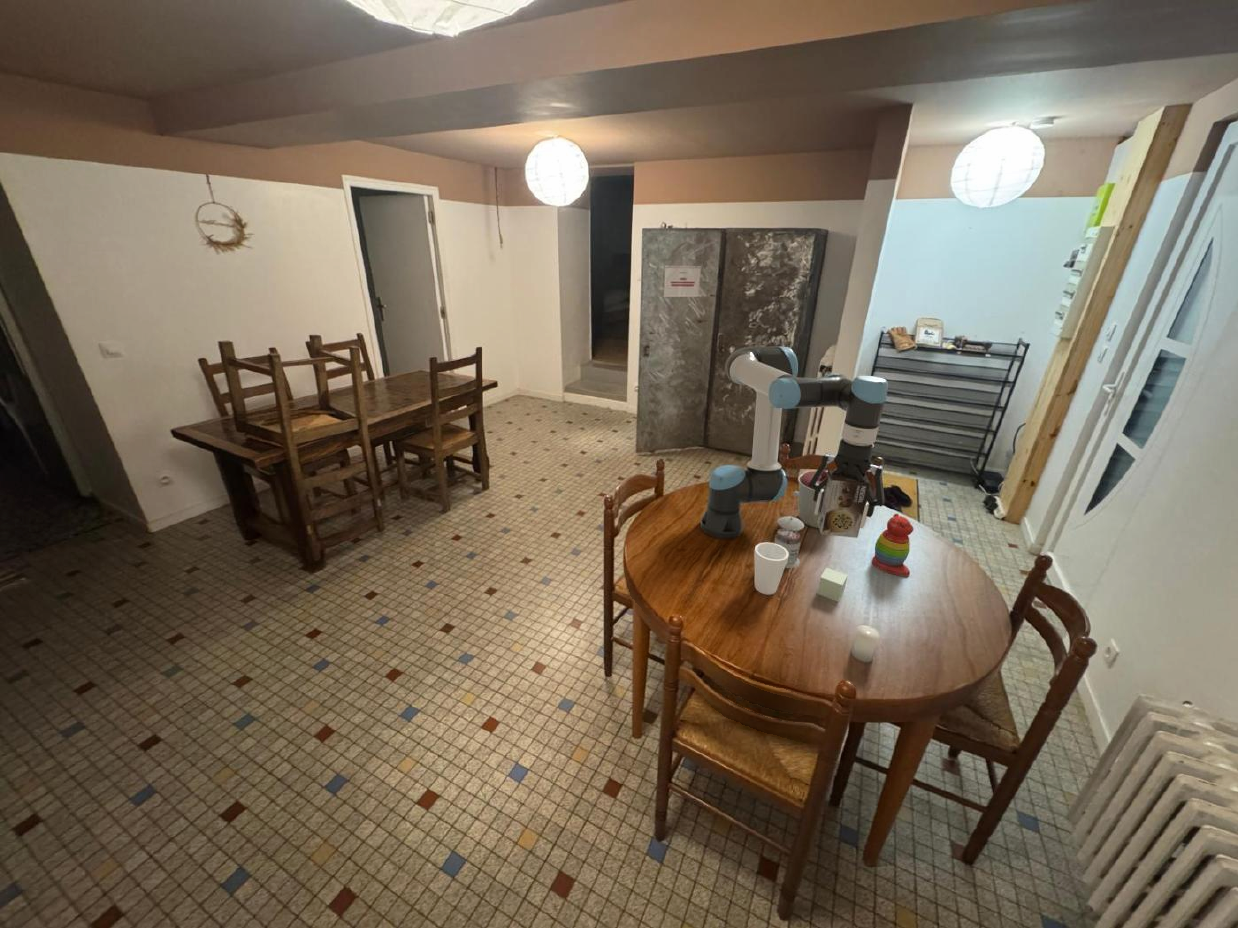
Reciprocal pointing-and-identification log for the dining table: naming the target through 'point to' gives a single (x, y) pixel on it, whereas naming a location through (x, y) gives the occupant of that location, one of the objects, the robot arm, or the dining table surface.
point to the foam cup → (769, 566)
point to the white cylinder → (865, 643)
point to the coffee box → (842, 505)
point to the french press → (790, 536)
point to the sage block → (832, 584)
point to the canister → (808, 498)
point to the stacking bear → (893, 546)
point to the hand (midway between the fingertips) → (839, 519)
